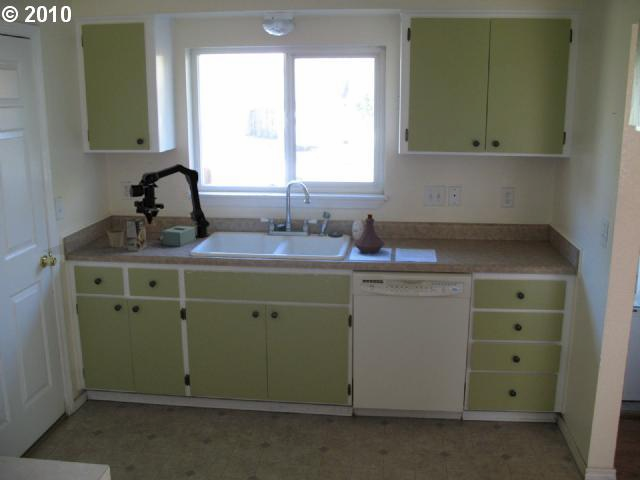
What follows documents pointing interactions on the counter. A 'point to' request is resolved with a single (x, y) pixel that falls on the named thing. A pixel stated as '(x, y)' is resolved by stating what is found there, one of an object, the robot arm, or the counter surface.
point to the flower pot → (116, 237)
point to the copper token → (153, 222)
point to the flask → (369, 238)
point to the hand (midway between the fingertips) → (151, 223)
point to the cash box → (178, 236)
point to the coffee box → (136, 234)
